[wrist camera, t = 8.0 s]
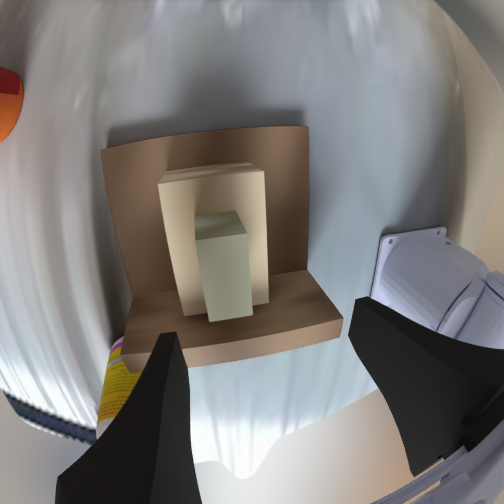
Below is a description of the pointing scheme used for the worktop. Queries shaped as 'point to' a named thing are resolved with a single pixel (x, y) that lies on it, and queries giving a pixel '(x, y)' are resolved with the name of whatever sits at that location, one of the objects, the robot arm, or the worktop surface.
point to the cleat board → (159, 260)
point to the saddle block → (217, 238)
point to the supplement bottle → (114, 388)
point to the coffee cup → (9, 101)
